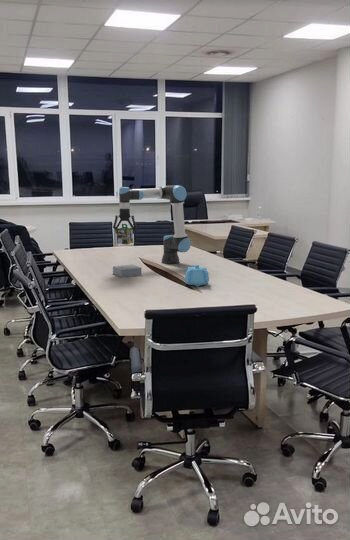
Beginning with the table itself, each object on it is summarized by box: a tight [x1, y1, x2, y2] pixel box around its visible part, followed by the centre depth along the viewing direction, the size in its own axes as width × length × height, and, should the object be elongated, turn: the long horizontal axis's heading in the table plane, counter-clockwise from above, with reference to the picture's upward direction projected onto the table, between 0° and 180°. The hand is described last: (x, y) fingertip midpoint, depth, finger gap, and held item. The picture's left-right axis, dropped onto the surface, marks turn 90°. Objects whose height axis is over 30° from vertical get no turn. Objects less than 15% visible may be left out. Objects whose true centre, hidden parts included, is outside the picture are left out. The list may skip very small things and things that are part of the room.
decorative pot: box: [184, 264, 210, 288], centre depth 330 cm, size 16×16×14 cm
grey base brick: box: [112, 263, 143, 278], centre depth 365 cm, size 16×16×6 cm
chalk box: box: [116, 223, 134, 245], centre depth 367 cm, size 9×9×15 cm
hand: (125, 238), depth 367 cm, fingers closed on chalk box, 10 cm apart
